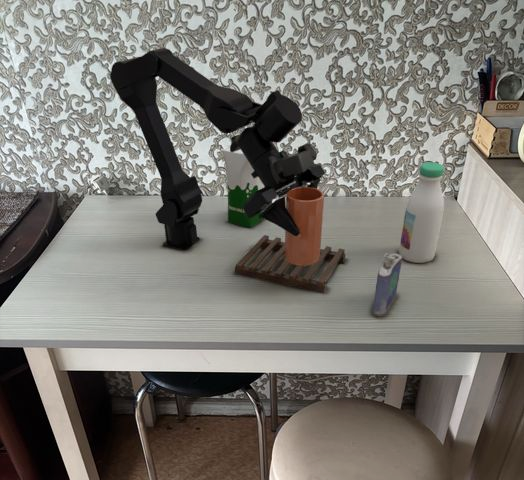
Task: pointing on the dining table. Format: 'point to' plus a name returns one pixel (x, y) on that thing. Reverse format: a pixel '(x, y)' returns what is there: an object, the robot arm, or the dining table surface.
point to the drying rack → (293, 277)
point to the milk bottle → (423, 216)
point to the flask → (387, 283)
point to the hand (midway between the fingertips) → (309, 228)
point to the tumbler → (304, 225)
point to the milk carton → (240, 187)
